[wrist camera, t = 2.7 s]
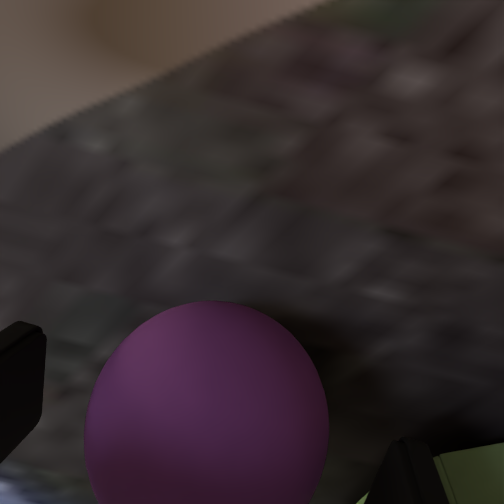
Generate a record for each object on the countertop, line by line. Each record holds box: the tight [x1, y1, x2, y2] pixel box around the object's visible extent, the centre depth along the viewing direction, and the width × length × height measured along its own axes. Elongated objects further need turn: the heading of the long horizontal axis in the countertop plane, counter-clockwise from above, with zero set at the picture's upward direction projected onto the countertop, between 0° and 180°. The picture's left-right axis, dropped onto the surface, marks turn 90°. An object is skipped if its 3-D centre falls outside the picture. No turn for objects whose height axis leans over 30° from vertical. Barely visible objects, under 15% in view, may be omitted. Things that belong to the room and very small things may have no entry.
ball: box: [84, 301, 329, 504], centre depth 10 cm, size 6×6×6 cm
